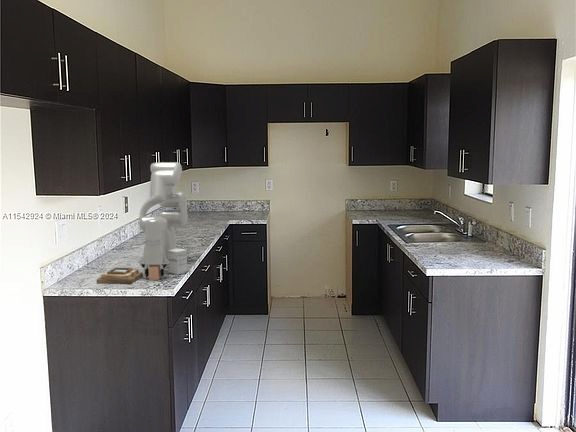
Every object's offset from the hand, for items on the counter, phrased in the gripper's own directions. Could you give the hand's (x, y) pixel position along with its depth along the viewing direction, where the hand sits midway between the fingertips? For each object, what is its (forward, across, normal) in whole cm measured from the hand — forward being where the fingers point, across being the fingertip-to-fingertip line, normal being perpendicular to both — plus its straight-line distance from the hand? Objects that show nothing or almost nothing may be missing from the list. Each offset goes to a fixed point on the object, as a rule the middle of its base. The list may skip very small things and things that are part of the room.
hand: (154, 276), depth 276 cm
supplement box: (+2, +10, +13) cm, 16 cm away
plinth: (+1, -17, -2) cm, 18 cm away
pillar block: (+1, 0, 0) cm, 1 cm away
